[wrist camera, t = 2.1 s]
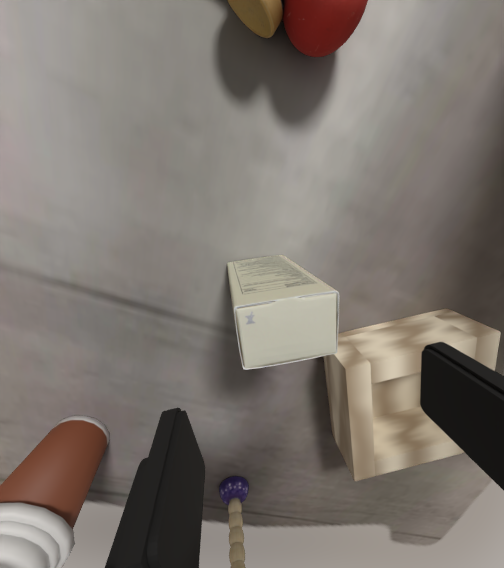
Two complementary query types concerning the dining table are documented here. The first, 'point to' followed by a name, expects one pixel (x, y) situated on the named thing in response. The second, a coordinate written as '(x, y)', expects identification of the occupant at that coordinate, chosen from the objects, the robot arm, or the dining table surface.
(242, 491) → the toy lamp
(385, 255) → the dining table surface
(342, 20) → the kendama
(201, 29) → the dining table surface
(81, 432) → the coffee cup
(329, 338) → the skincare box
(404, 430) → the holder
